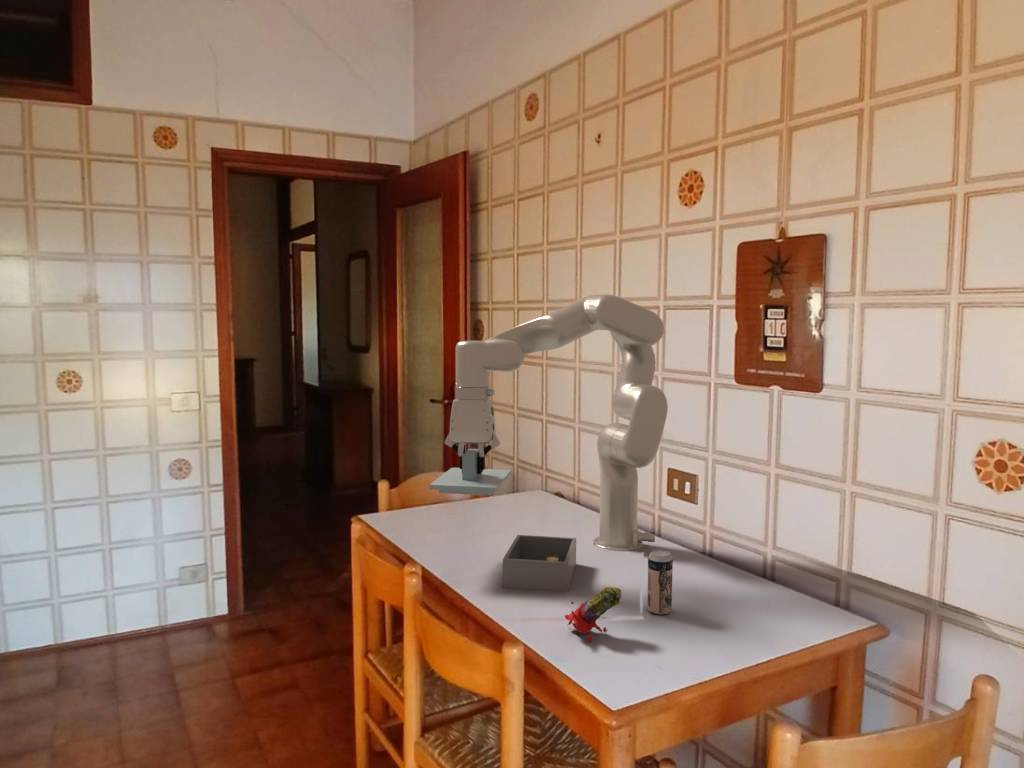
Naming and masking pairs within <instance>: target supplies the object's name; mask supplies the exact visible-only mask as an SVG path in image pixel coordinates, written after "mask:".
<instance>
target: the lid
mask: <svg viewBox="0 0 1024 768" xmlns="http://www.w3.org/2000/svg"><path fill="white" fill-rule="evenodd" d="M478 454H479V449H478V448H468V449H466V452H464V453H463V454H462V469H460V467H450V468H449V469H448V470H447V471H445V472H444V473H443V474H442V475H440V476H439V477H438V478H437V479H435V480H434V481H432V482H431V483H430V484H429V490H438V493H439V494H452V495H454V494H455V495H472V496H491V494H492V493H496V492H497V491H498V490H499V489H500V488H501V486H503V484H504V483H505V482H506V481H507V480H508V479H509V477H511V475H512V469H497V468H496V469H495V468H485V469H484V470H483V472H482V473H481V474H477V457H478Z"/></svg>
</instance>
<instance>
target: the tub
mask: <svg viewBox="0 0 1024 768" xmlns="http://www.w3.org/2000/svg"><path fill="white" fill-rule="evenodd" d="M547 555H557V556H559V561H546V556H547ZM576 566H577V537H564V536H563V537H560V536H545V535H544V536H543V535H529V534H528V535H525V534H517V535H516V537H515V538H514V540H513V542H512V543H511V545H510V547H509V548H508V549H507V552H506V553H505V555H504V557H503V558H502V589H504V588H506V589H519V590H533V591H535V590H536V591H547V592H561V593H562V592H563V593H568V592H569V590H570V589H569V588H570V586H571V582H572V579H573V575H574V572H575V570H576Z"/></svg>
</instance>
